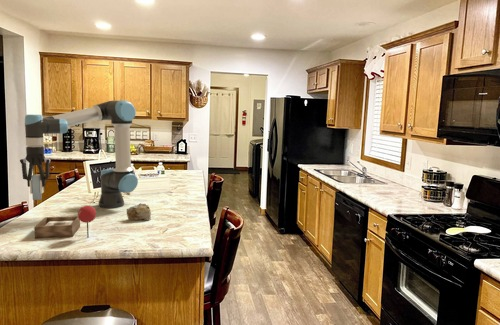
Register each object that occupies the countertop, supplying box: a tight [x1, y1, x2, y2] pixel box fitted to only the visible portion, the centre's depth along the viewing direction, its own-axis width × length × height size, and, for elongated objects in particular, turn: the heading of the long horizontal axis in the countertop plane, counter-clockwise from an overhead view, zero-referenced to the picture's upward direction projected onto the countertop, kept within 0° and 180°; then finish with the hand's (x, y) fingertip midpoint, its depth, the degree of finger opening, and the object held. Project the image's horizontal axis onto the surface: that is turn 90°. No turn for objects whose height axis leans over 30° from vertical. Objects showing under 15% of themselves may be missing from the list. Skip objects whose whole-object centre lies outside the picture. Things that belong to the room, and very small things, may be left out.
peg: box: [31, 174, 43, 201], centre depth 189 cm, size 4×4×12 cm
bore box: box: [33, 215, 81, 239], centre depth 183 cm, size 16×16×6 cm
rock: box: [126, 202, 152, 221], centre depth 208 cm, size 12×7×10 cm, turn 91°
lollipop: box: [77, 205, 97, 239], centre depth 175 cm, size 8×8×15 cm
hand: (37, 193), depth 189 cm, fingers closed on peg, 4 cm apart
